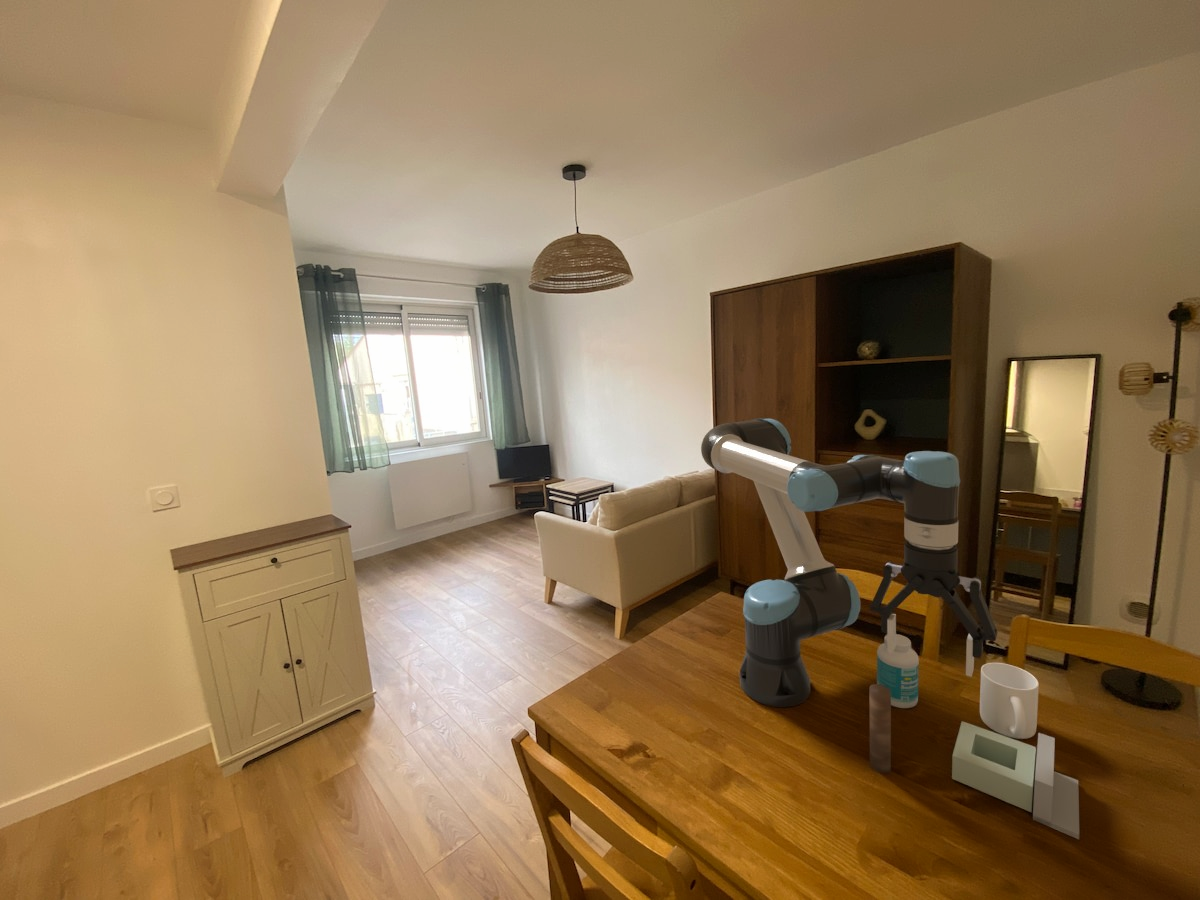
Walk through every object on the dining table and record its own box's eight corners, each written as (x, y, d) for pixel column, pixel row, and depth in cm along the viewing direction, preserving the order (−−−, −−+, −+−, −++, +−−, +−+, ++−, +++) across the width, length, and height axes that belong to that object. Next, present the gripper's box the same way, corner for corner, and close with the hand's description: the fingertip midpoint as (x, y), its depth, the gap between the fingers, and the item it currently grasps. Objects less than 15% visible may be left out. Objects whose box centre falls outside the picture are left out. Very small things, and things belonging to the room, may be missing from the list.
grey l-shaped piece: (1032, 819, 73) (1034, 779, 72) (1036, 769, 81) (1038, 732, 80) (1079, 839, 69) (1081, 797, 68) (1077, 784, 77) (1080, 746, 76)
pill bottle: (907, 715, 95) (907, 654, 93) (870, 696, 102) (869, 638, 100) (925, 699, 99) (925, 640, 97) (888, 682, 106) (888, 626, 104)
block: (951, 778, 80) (952, 755, 80) (961, 742, 87) (961, 721, 87) (1031, 812, 73) (1032, 787, 73) (1034, 770, 80) (1036, 747, 80)
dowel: (867, 767, 84) (867, 691, 82) (872, 756, 87) (872, 681, 84) (888, 776, 82) (887, 698, 80) (892, 764, 84) (892, 688, 82)
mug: (1050, 761, 82) (1053, 708, 81) (989, 747, 86) (991, 696, 85) (1028, 715, 93) (1030, 667, 91) (975, 705, 97) (976, 658, 95)
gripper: (849, 537, 86) (850, 648, 90) (1019, 564, 70) (1013, 698, 73) (861, 525, 92) (863, 630, 95) (1023, 547, 75) (1017, 673, 79)
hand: (928, 660), depth 84 cm, fingers open, 11 cm apart
